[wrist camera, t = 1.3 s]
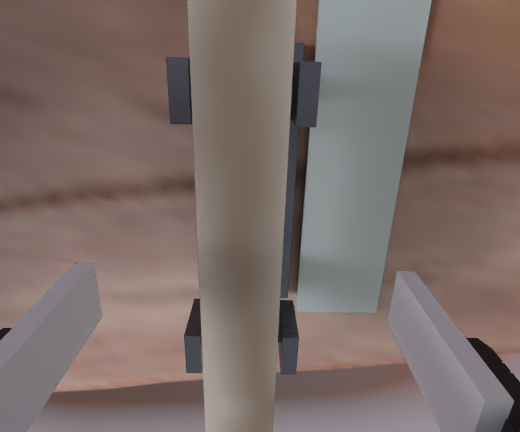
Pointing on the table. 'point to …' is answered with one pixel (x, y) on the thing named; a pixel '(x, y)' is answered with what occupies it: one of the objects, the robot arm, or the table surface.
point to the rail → (240, 198)
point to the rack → (300, 116)
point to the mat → (357, 148)
